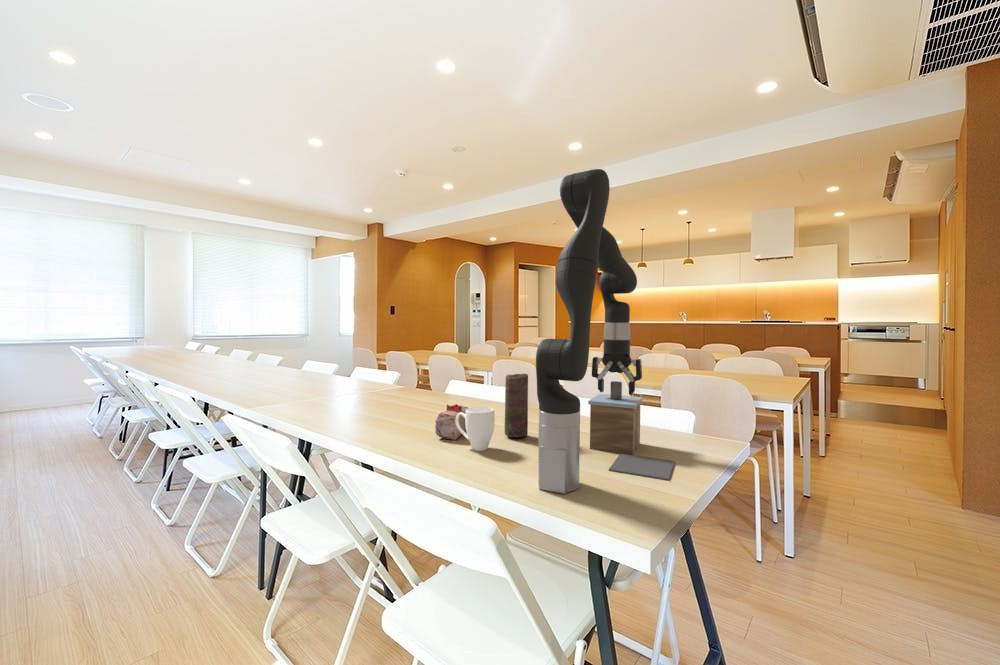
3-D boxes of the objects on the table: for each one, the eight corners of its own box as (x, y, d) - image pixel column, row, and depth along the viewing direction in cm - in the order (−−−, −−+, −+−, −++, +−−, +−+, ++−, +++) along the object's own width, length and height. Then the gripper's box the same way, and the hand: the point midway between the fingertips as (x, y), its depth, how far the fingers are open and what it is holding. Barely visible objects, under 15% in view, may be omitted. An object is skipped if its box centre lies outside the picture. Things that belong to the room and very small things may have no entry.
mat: (668, 480, 102) (668, 478, 102) (608, 470, 109) (608, 469, 109) (674, 462, 115) (674, 461, 115) (620, 454, 121) (620, 453, 121)
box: (632, 454, 121) (633, 408, 121) (589, 448, 127) (590, 404, 126) (639, 443, 132) (640, 400, 131) (600, 438, 137) (600, 397, 137)
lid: (634, 412, 120) (635, 387, 120) (588, 408, 126) (588, 383, 126) (642, 404, 132) (642, 380, 131) (599, 400, 138) (599, 377, 137)
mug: (498, 446, 128) (499, 408, 128) (487, 454, 121) (487, 413, 120) (462, 441, 133) (462, 404, 133) (449, 449, 125) (448, 410, 125)
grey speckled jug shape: (457, 442, 133) (457, 409, 133) (433, 439, 135) (433, 408, 135) (472, 430, 146) (472, 401, 146) (450, 428, 148) (450, 400, 148)
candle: (528, 440, 135) (528, 375, 134) (504, 440, 135) (504, 375, 134) (527, 433, 142) (527, 372, 141) (504, 433, 142) (504, 372, 141)
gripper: (589, 338, 128) (588, 393, 129) (639, 339, 121) (639, 397, 122) (596, 336, 135) (595, 389, 135) (644, 338, 128) (643, 393, 129)
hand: (616, 393), depth 129 cm, fingers open, 8 cm apart
